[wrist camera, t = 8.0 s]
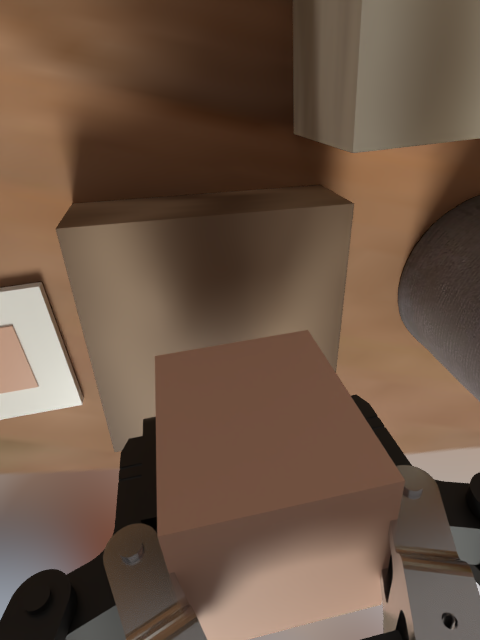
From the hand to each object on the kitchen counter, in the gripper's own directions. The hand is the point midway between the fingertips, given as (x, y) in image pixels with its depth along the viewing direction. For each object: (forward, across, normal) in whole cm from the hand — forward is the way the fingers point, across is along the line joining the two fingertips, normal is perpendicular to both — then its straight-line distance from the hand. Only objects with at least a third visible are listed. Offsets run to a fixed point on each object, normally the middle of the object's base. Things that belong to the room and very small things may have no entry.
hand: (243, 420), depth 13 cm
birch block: (+9, -7, -10) cm, 15 cm away
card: (+8, +11, +1) cm, 14 cm away
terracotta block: (+1, 0, 0) cm, 1 cm away
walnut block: (+9, 0, 0) cm, 9 cm away
